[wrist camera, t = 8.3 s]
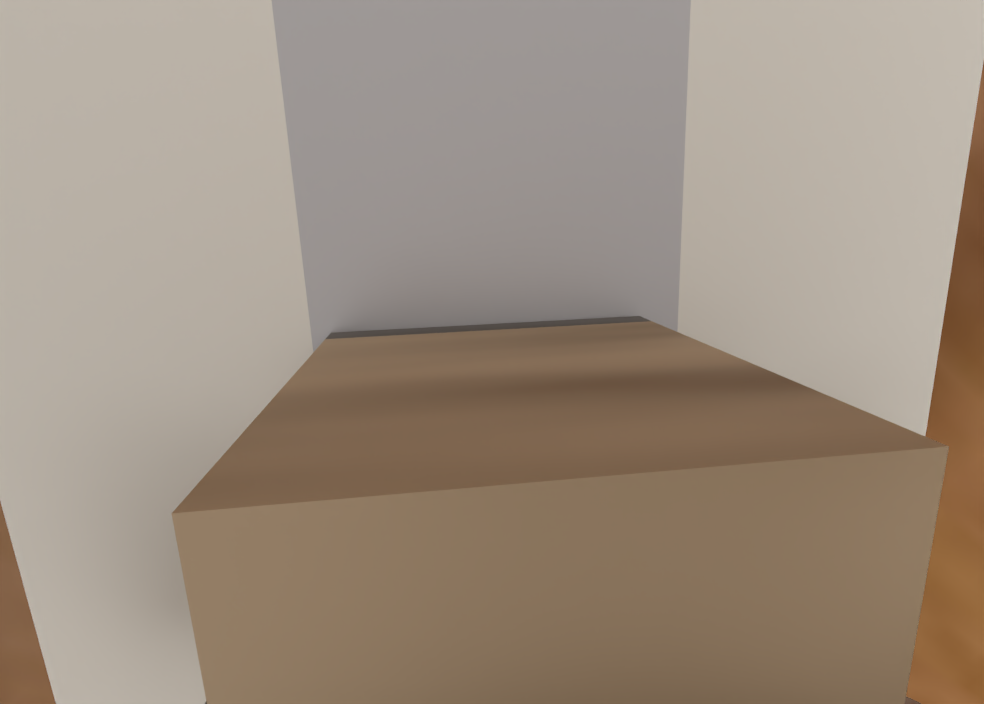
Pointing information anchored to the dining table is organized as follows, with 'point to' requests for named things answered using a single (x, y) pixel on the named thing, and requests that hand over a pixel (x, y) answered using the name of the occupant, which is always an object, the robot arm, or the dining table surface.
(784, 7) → the board
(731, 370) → the block
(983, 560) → the dining table surface
